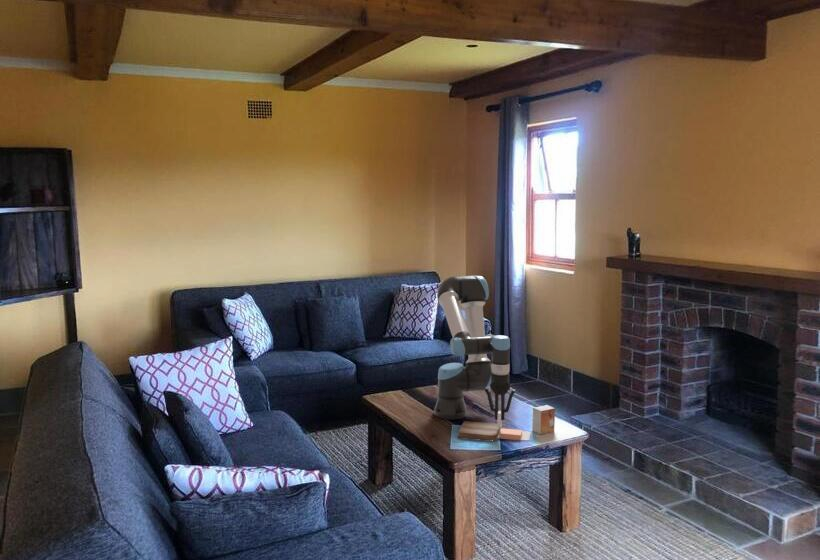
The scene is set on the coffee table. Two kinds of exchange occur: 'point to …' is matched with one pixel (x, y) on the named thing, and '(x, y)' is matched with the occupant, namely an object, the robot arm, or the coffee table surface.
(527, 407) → the coffee table surface
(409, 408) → the coffee table surface
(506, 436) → the salmon flat rectangular block
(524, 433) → the mat
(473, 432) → the board
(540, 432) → the small box
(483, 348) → the robot arm
